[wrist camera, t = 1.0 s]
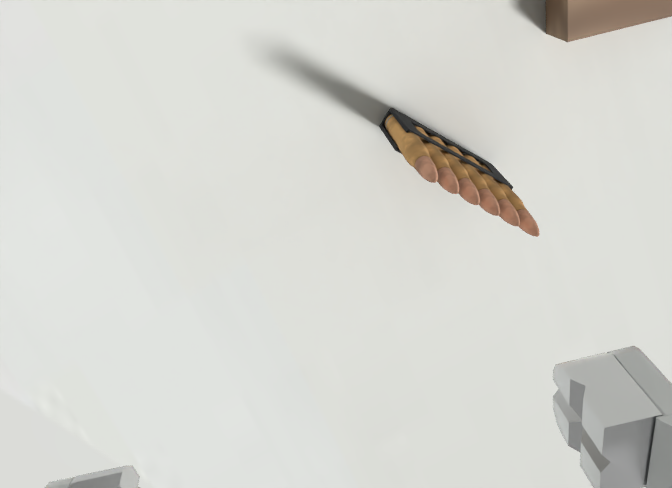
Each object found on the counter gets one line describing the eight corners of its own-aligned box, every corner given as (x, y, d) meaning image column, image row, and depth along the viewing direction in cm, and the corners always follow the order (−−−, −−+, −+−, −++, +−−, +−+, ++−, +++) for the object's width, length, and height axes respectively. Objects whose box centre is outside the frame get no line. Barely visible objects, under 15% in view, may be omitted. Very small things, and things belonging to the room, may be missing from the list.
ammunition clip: (378, 126, 46) (415, 186, 36) (390, 106, 45) (431, 162, 35) (479, 182, 50) (539, 251, 39) (492, 164, 49) (556, 230, 39)
